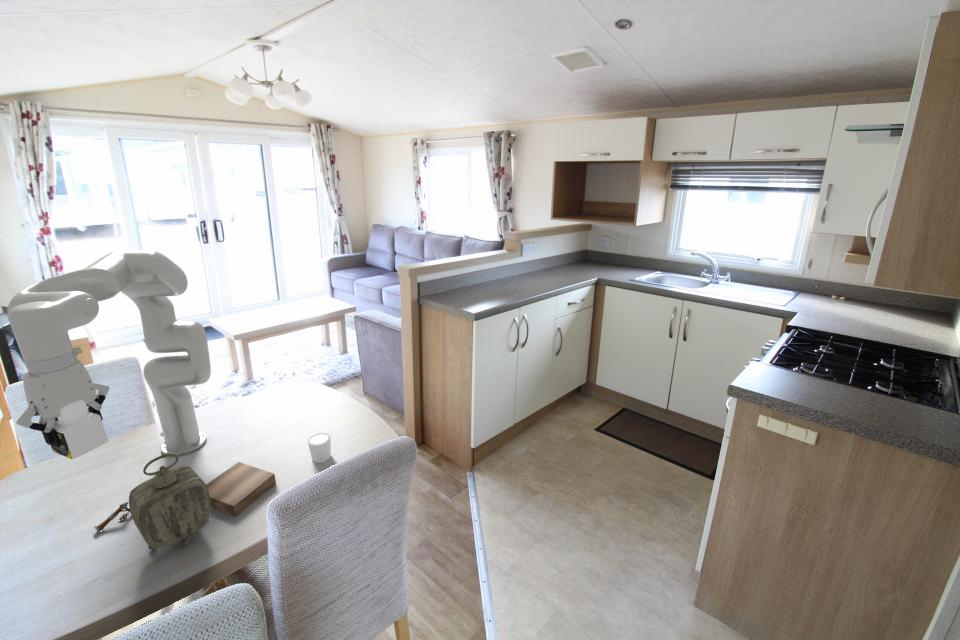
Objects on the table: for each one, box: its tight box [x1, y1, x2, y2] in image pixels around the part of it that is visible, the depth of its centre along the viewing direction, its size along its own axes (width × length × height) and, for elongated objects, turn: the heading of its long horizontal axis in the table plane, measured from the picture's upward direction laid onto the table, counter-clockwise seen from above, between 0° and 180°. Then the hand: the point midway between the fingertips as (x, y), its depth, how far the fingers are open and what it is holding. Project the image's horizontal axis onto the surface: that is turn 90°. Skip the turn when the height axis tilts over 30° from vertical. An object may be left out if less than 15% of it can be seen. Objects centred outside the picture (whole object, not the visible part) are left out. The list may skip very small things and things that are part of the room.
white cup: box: [307, 432, 332, 464], centre depth 142 cm, size 7×7×7 cm
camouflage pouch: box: [128, 454, 212, 550], centre depth 107 cm, size 14×9×25 cm, turn 140°
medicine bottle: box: [50, 400, 109, 461], centre depth 96 cm, size 7×7×12 cm
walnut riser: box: [205, 461, 277, 517], centre depth 127 cm, size 14×14×4 cm
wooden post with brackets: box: [93, 501, 131, 532], centre depth 116 cm, size 2×8×4 cm, turn 146°
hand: (76, 434), depth 97 cm, fingers closed on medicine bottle, 7 cm apart
